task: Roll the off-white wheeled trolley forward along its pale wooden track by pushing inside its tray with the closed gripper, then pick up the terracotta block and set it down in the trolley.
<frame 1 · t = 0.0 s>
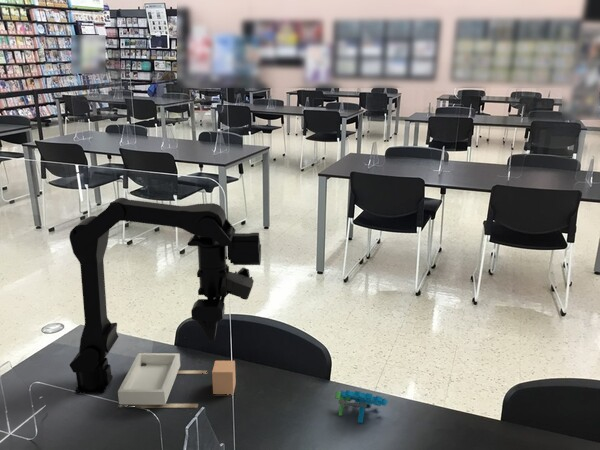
hand: (215, 329, 113), 15 cm above the table, tool pointing down, fingers open, 9 cm apart
part block: (224, 389, 116), on the table
toy construction assembly: (360, 413, 109), on the table
trolley: (151, 378, 115), point 3 cm above the table, slide at 0.0 cm
track: (165, 388, 116), on the table
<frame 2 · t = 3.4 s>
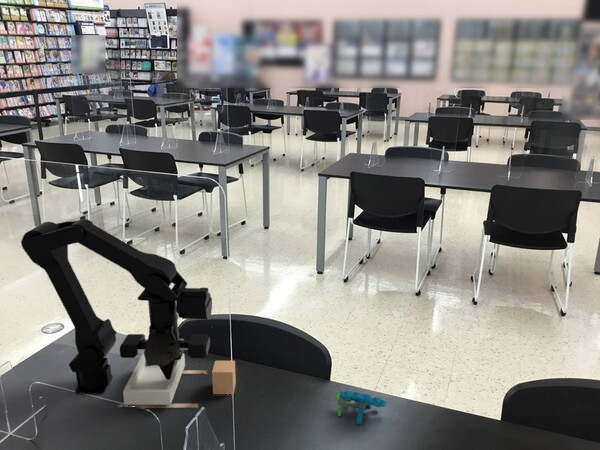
hand: (168, 378, 115), 3 cm above the table, tool pointing down, fingers closed
trolley: (156, 379, 115), point 2 cm above the table, slide at 1.1 cm, touching gripper
everything else where it was.
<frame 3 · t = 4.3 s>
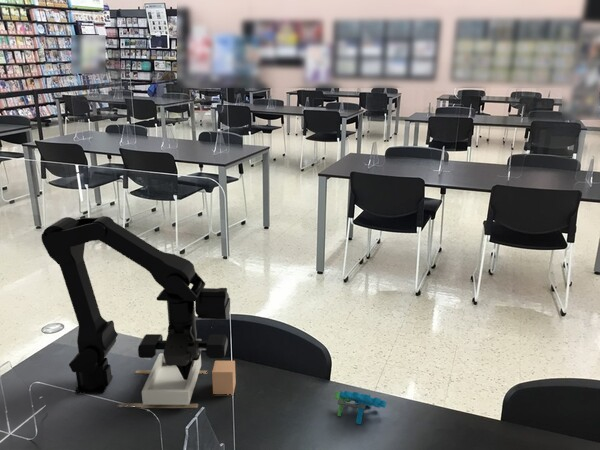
hand: (186, 378, 115), 3 cm above the table, tool pointing down, fingers closed
trolley: (173, 379, 115), point 2 cm above the table, slide at 5.0 cm, touching gripper
everything else where it was.
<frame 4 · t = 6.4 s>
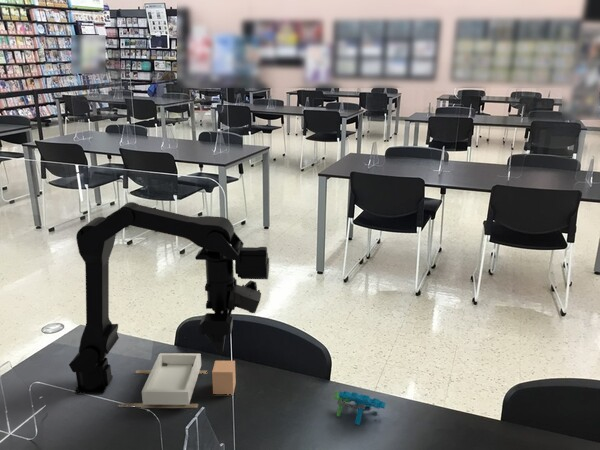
hand: (222, 342, 112), 12 cm above the table, tool pointing down, fingers open, 8 cm apart
trolley: (173, 379, 115), point 2 cm above the table, slide at 5.0 cm
everything else where it was.
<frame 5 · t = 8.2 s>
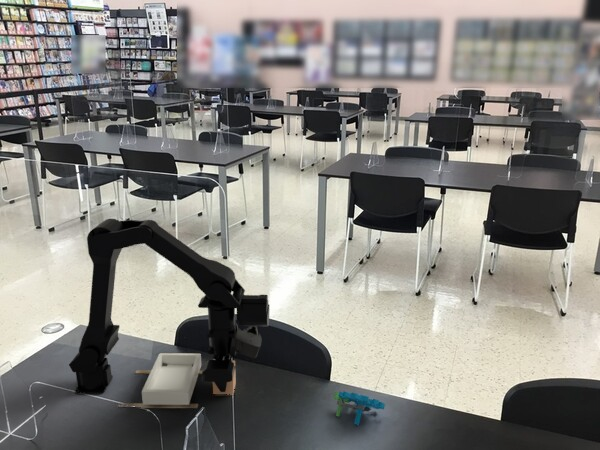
hand: (224, 384, 116), 1 cm above the table, tool pointing down, fingers closed on part block, 4 cm apart
part block: (224, 388, 116), on the table, touching gripper
everything else where it was.
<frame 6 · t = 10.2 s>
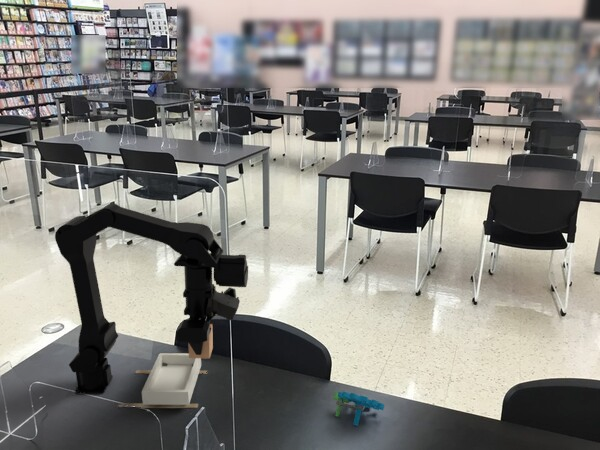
hand: (200, 348, 113), 10 cm above the table, tool pointing down, fingers closed on part block, 4 cm apart
part block: (201, 352, 113), point 9 cm above the table, touching gripper
when the fingers open (4 cm above the table, at t = 12.2 s): part block drops 1 cm, resting on trolley.
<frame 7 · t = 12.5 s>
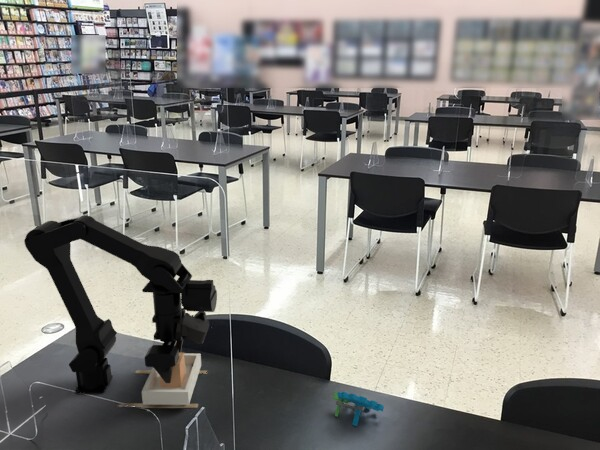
hand: (172, 371, 115), 4 cm above the table, tool pointing down, fingers open, 8 cm apart
part block: (173, 381, 115), point 2 cm above the table, touching trolley
trolley: (173, 379, 115), point 2 cm above the table, slide at 5.0 cm, touching part block
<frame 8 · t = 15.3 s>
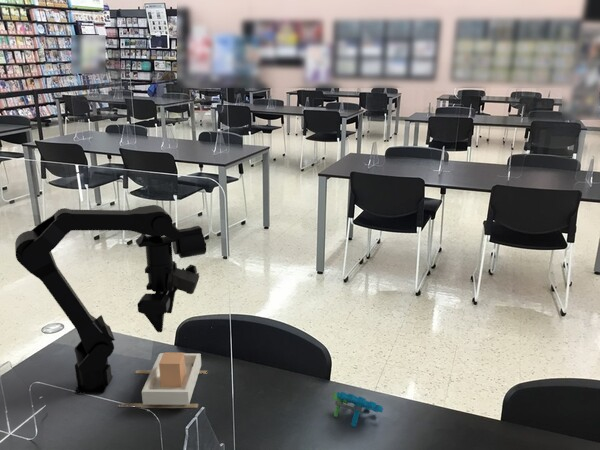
hand: (164, 322, 121), 12 cm above the table, tool pointing down, fingers open, 9 cm apart
at the end: trolley slide at 5.0 cm; part block touching trolley; part block point 2.0 cm above the table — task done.
